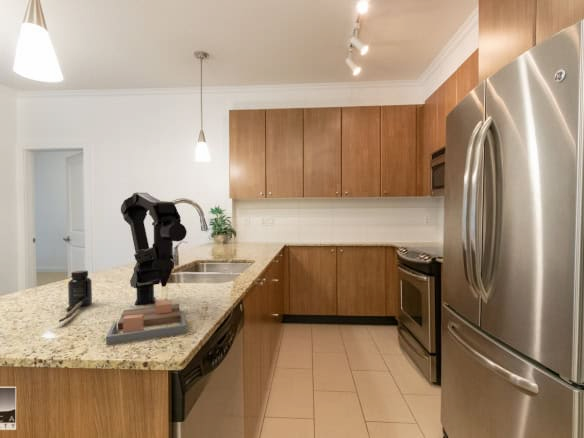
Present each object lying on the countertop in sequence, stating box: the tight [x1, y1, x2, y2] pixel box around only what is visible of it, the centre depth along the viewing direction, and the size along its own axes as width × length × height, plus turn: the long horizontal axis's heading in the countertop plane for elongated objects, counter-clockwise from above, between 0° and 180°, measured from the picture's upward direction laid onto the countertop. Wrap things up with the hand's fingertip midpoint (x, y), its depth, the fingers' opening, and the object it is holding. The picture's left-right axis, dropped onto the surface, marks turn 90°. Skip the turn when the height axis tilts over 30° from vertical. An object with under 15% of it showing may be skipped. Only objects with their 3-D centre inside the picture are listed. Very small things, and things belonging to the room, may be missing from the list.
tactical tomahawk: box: [58, 297, 89, 323], centre depth 92 cm, size 21×7×1 cm, turn 20°
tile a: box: [122, 314, 145, 333], centre depth 78 cm, size 4×4×2 cm
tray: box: [105, 313, 187, 346], centre depth 78 cm, size 10×18×3 cm, turn 113°
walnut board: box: [117, 303, 181, 331], centre depth 89 cm, size 12×16×2 cm
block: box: [155, 299, 173, 314], centre depth 90 cm, size 4×4×2 cm
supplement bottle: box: [67, 270, 93, 309], centre depth 104 cm, size 7×7×12 cm
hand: (163, 286), depth 97 cm, fingers closed
